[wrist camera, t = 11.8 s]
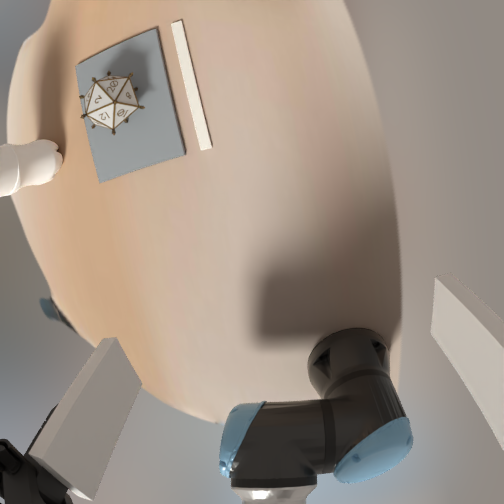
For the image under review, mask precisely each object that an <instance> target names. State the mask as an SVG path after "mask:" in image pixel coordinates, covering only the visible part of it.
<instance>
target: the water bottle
mask: <svg viewBox="0 0 504 504" xmlns="http://www.w3.org/2000/svg"><path fill="white" fill-rule="evenodd" d="M58 148H59V147H58V145H57V144H56V143H54V142H52V141H50V140H45V139H41V140H35V141H33V142H31V143H29V144H24V145H12V144H3V145H1V146H0V197H2V196H7V195H10V194H13V193H15V192H16V191H18V190H19V189H20V188H22V187H24V186H28V185H41V184H44V183H46V182H49V181H50V180H52V179H53V178H54V177H55V174H56V173H57V172H58V171H59V169H60V168H61V166H62V162H63V158H62V155H61V154H60V153H58V152H56V151H57V149H58Z"/></svg>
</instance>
